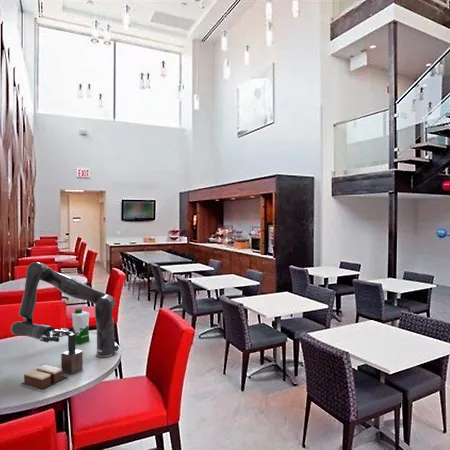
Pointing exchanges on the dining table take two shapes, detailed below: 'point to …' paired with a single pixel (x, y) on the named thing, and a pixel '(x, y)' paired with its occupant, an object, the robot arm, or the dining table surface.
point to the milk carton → (81, 326)
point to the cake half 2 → (51, 372)
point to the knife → (71, 343)
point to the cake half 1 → (37, 379)
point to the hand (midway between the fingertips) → (65, 337)
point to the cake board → (49, 385)
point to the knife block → (71, 362)
